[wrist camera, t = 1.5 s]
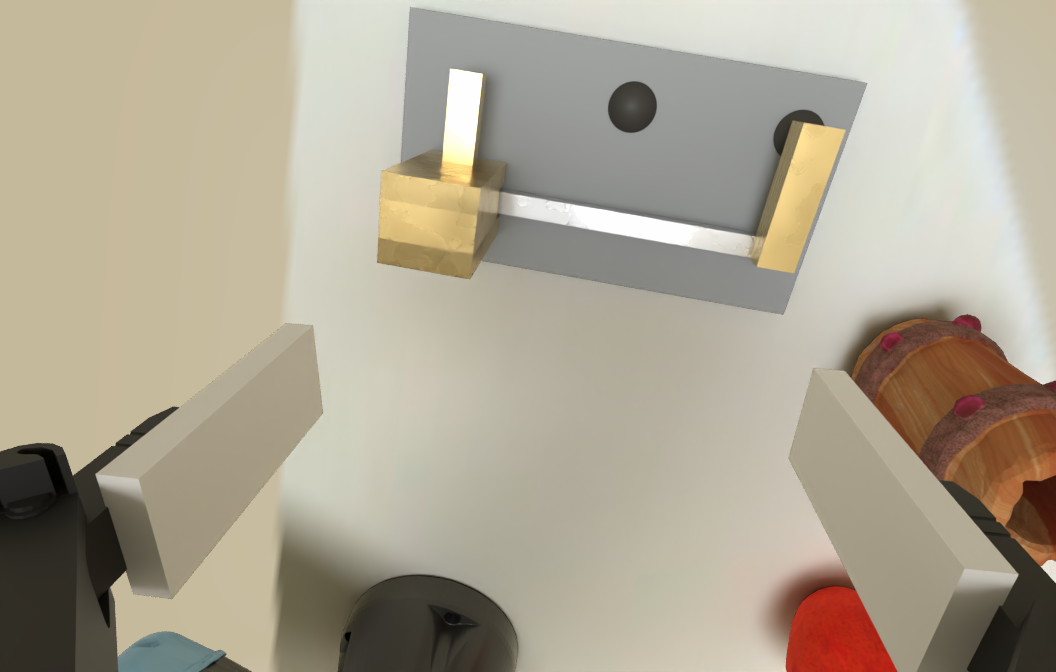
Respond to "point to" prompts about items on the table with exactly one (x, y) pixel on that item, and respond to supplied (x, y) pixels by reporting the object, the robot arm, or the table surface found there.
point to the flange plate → (623, 146)
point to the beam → (767, 248)
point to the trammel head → (444, 194)
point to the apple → (835, 635)
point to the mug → (970, 420)
